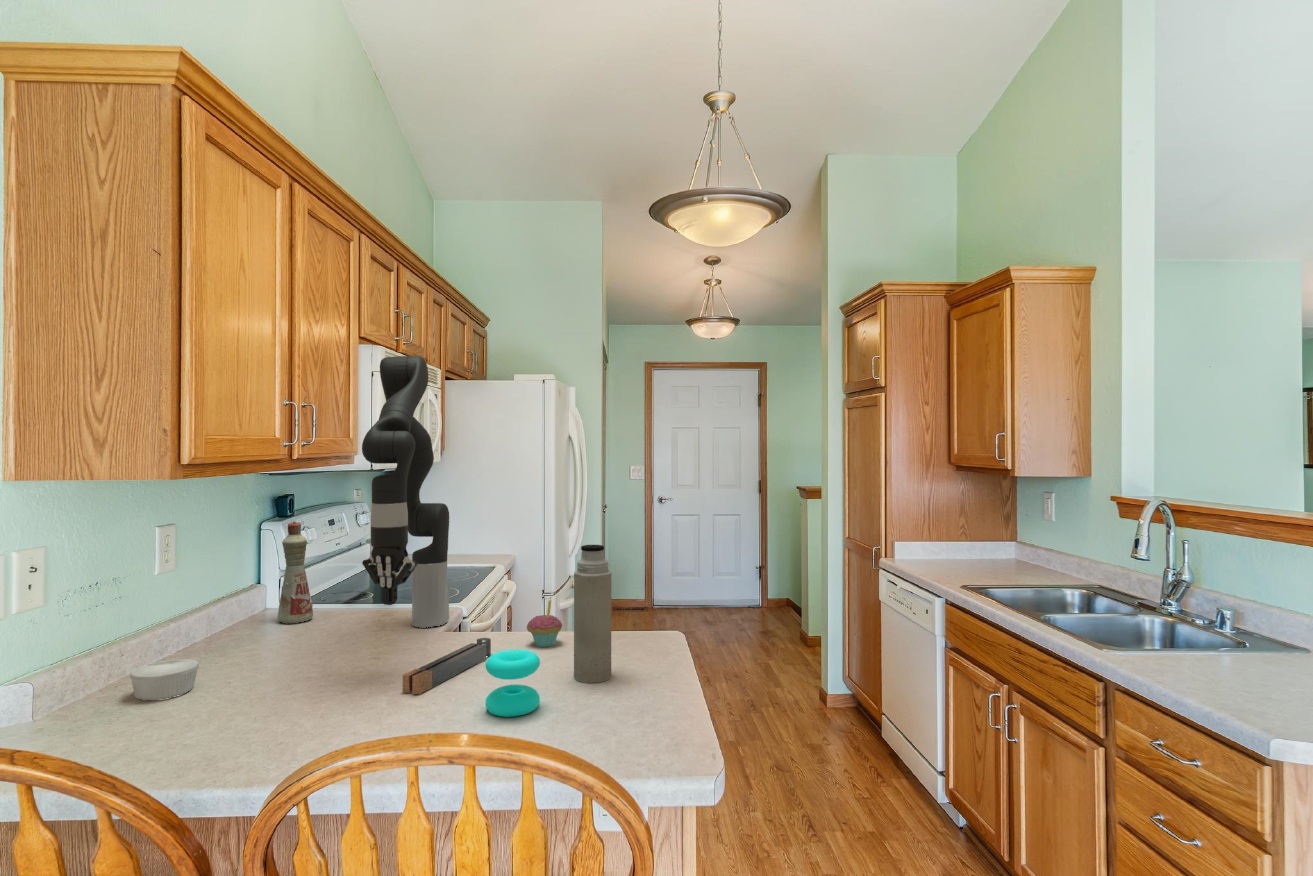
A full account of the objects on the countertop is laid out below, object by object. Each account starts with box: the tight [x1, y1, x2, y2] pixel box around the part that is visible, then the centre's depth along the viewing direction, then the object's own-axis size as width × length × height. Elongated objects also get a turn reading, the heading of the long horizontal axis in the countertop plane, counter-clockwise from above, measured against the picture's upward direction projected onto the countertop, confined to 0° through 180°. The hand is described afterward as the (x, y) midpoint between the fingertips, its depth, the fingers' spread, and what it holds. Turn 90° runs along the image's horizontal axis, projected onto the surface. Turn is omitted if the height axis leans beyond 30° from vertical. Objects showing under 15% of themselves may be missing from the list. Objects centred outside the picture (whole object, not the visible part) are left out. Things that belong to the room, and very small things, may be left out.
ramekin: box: [129, 658, 200, 701], centre depth 138 cm, size 11×11×5 cm
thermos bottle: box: [573, 544, 612, 684], centre depth 147 cm, size 8×8×28 cm
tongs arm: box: [402, 642, 477, 694], centre depth 149 cm, size 24×2×3 cm, turn 161°
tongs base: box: [411, 637, 492, 695], centre depth 150 cm, size 28×4×4 cm, turn 161°
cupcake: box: [526, 596, 563, 648], centre depth 171 cm, size 9×8×12 cm
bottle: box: [277, 520, 314, 624], centre depth 194 cm, size 9×9×28 cm
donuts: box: [485, 649, 541, 718], centre depth 130 cm, size 10×10×10 cm
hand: (389, 603), depth 149 cm, fingers closed
